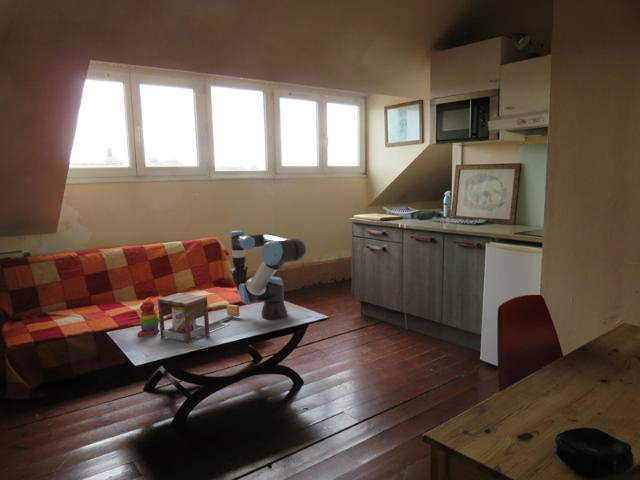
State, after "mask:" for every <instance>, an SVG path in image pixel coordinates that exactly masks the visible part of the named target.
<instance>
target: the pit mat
mask: <svg viewBox="0 0 640 480" xmlns="http://www.w3.org/2000/svg"><path fill="white" fill-rule="evenodd" d="M210 321H211V320H210V319H209V322H210ZM197 324H198V325H202V324H205V323H204V322H202V323H197ZM230 325H231V324H230V323H226V322H222V321H221V322H218V323H215V324H213V325H210V326H209V334H211V333H214V332H217V331H219V330H221V329H223V328H225V327H229V326H230Z"/></svg>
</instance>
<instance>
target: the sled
mask: <svg viewBox="0 0 640 480" xmlns="http://www.w3.org/2000/svg"><path fill="white" fill-rule="evenodd" d="M240 316H241V315H240V305H235V304H231V303H230V304H226V315H224V316H221V317H218V318H216V319H213V320H210V322H209V326H210V325H213V324H215V323H218V322H221V323H222V322H224V321H226V320H228V319H231V318H234V317H240ZM198 324H199V323H196V329H195V330H193V331H190V333H191V338H192V337H194V338H195V337H197V336H199V335H201V334H205V324H202V325H198ZM164 329H165V330H163V336H164V337H163V338H169V339H174V340H178V341H187V340H186V333H185V334H181V333H177V332H173V326H171V327H169V328H168V327H167V328H164Z"/></svg>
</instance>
